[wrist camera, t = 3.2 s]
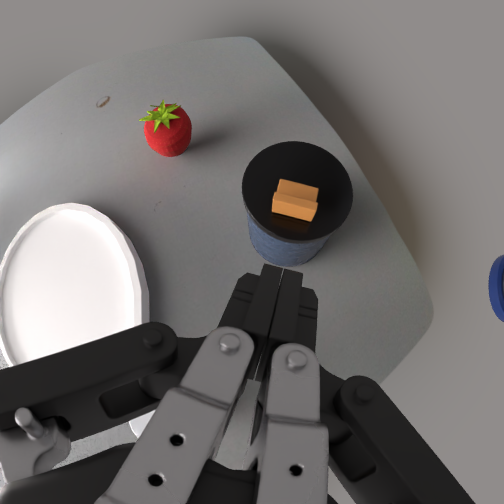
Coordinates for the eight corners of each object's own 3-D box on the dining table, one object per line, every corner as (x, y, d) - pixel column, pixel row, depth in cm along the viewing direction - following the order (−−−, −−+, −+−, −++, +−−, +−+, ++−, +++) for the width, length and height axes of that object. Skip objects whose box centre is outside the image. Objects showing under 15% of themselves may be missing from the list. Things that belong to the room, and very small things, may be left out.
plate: (116, 444, 28) (107, 450, 25) (-9, 345, 31) (-19, 344, 28) (184, 244, 34) (179, 238, 32) (41, 191, 37) (33, 185, 35)
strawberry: (163, 181, 36) (136, 137, 27) (154, 139, 38) (130, 94, 28) (205, 165, 37) (189, 117, 27) (192, 126, 38) (176, 77, 29)
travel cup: (317, 277, 32) (344, 253, 22) (237, 256, 33) (227, 223, 23) (332, 204, 35) (358, 156, 24) (259, 185, 36) (258, 131, 25)
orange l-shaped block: (310, 222, 22) (316, 211, 20) (271, 212, 23) (272, 199, 20) (317, 191, 23) (323, 177, 21) (279, 181, 23) (281, 166, 21)
